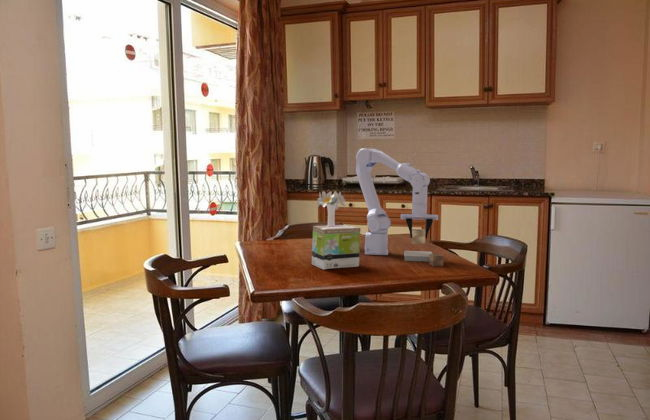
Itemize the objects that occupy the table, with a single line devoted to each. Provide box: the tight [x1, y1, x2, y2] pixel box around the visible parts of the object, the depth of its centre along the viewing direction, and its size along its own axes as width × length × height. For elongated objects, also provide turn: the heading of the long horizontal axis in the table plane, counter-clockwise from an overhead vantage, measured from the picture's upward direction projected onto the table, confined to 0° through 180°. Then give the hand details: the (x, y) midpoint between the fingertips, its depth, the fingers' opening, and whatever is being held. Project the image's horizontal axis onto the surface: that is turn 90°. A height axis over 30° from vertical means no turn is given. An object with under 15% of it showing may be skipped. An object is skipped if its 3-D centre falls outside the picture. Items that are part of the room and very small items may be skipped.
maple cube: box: [411, 228, 426, 245], centre depth 199 cm, size 5×5×5 cm
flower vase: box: [315, 190, 346, 225], centre depth 225 cm, size 13×18×25 cm
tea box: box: [311, 224, 361, 270], centre depth 185 cm, size 15×10×15 cm, turn 117°
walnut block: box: [428, 253, 444, 267], centre depth 189 cm, size 4×4×4 cm
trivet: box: [403, 250, 433, 263], centre depth 201 cm, size 11×11×2 cm
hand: (418, 237), depth 200 cm, fingers closed on maple cube, 5 cm apart
